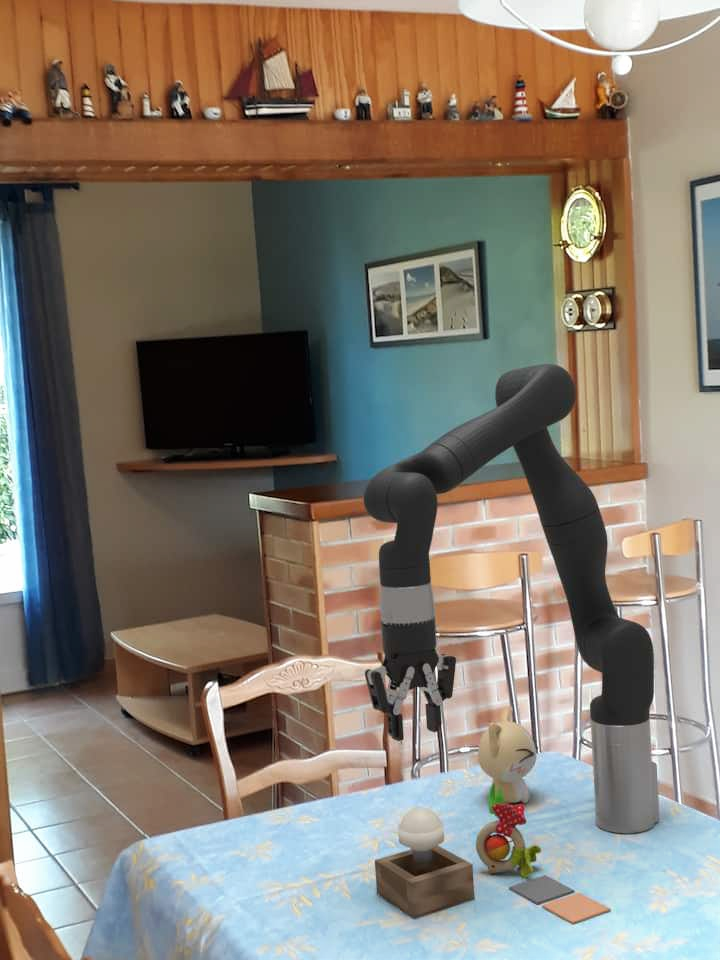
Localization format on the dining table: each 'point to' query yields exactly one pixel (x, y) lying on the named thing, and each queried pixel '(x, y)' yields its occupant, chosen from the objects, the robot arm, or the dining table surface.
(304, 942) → the dining table surface
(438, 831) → the dome button
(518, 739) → the kitten
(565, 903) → the tile
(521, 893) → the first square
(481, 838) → the bird rattle
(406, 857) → the button frame
